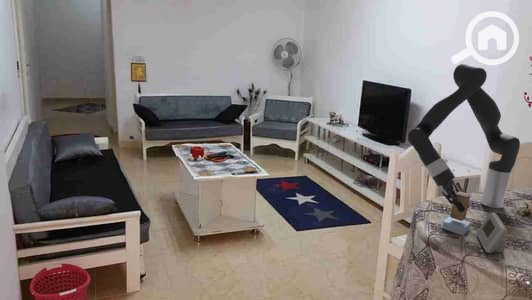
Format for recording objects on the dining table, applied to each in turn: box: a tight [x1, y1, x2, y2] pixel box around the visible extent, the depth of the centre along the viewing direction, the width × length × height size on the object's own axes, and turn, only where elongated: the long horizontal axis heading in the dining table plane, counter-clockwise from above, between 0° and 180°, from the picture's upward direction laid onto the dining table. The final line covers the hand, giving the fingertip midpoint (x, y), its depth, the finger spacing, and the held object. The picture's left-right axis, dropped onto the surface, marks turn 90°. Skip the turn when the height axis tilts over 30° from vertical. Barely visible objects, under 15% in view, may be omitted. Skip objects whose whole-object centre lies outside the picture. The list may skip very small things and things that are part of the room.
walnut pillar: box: [449, 191, 472, 221], centre depth 169 cm, size 4×4×10 cm
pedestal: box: [441, 216, 472, 236], centre depth 171 cm, size 8×8×3 cm
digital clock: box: [476, 212, 508, 254], centre depth 158 cm, size 16×9×11 cm, turn 155°
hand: (465, 209), depth 168 cm, fingers closed on walnut pillar, 4 cm apart
